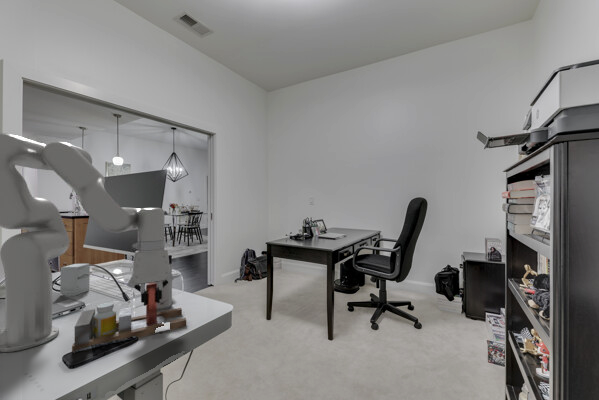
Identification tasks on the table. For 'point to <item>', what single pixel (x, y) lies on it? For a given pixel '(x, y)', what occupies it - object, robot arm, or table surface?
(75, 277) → the supplement box
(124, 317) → the vise slider
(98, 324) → the supplement bottle
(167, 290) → the travel mug
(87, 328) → the vise bench
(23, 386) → the table surface
